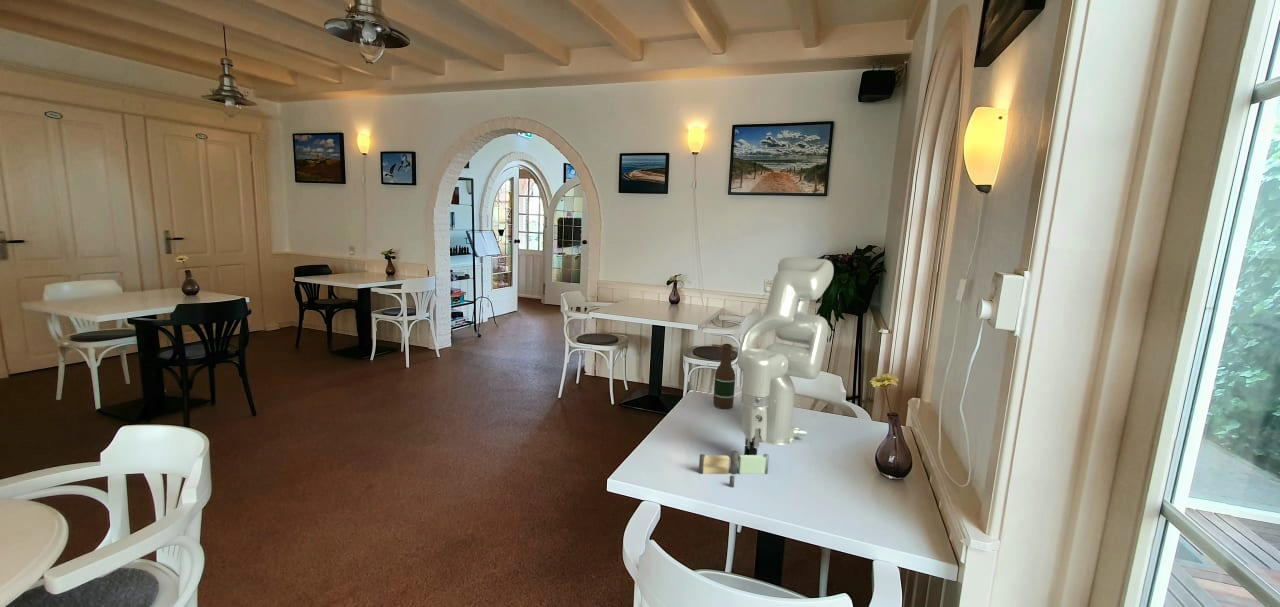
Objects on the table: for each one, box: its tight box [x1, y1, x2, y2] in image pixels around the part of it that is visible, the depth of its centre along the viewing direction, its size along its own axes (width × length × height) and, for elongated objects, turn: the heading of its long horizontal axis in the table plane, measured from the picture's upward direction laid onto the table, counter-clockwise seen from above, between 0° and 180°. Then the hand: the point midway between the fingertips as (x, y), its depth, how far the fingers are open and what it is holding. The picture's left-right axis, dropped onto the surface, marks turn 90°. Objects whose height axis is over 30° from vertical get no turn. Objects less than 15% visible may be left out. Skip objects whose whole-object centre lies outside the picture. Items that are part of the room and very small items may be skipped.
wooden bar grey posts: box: [698, 450, 739, 488], centre depth 135 cm, size 10×9×6 cm
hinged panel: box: [737, 453, 770, 475], centre depth 139 cm, size 8×2×5 cm, turn 94°
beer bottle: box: [712, 343, 736, 410], centre depth 192 cm, size 8×8×24 cm
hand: (750, 460), depth 146 cm, fingers closed
